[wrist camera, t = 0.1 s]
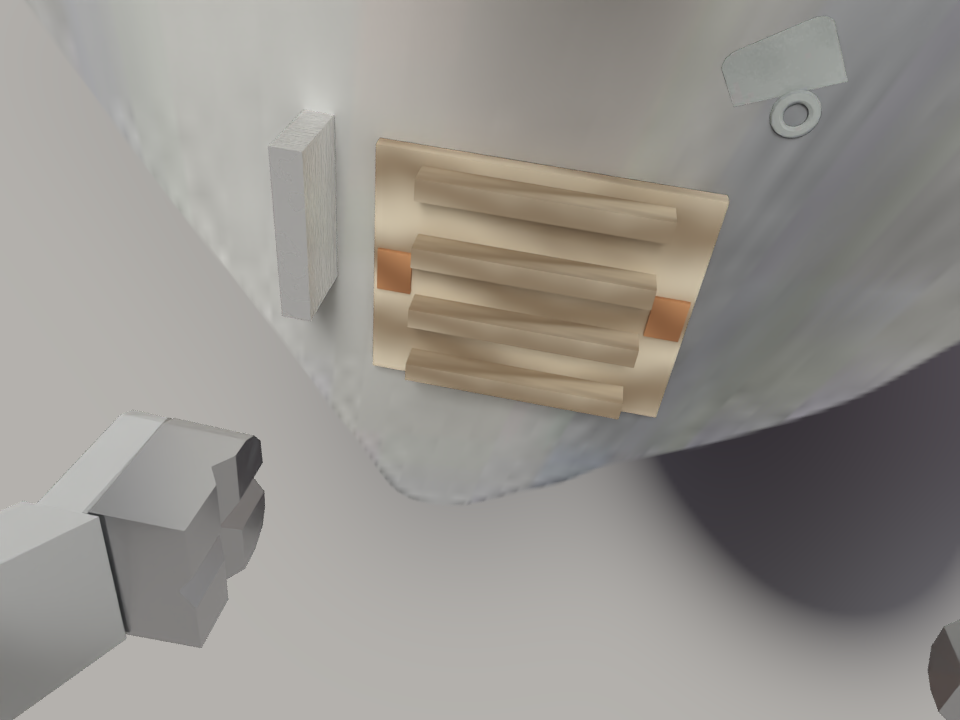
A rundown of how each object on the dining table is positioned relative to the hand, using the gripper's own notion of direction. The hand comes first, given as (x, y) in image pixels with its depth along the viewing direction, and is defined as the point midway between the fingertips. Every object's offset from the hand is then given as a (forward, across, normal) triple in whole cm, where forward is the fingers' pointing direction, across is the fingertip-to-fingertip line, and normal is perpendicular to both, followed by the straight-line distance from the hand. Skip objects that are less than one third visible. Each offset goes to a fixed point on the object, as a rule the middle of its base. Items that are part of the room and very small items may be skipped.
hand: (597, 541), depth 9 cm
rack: (+41, +2, +18) cm, 45 cm away
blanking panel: (+41, +17, +14) cm, 46 cm away
